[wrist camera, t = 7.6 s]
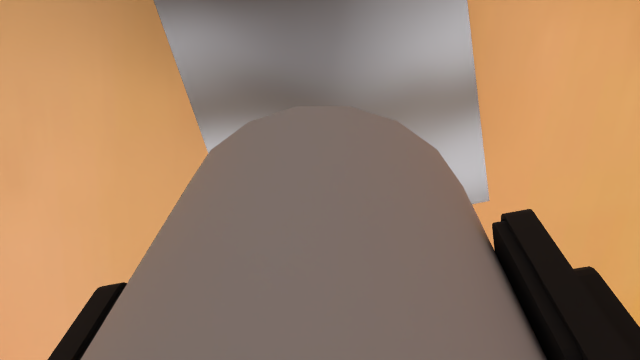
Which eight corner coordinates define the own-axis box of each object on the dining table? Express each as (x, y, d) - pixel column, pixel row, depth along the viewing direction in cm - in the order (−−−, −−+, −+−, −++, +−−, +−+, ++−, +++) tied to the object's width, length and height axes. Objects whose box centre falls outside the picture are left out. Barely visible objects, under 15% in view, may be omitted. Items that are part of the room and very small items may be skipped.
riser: (184, -15, 26) (152, -4, 22) (436, -81, 25) (457, -84, 20) (256, 202, 32) (241, 246, 27) (467, 160, 30) (489, 200, 25)
